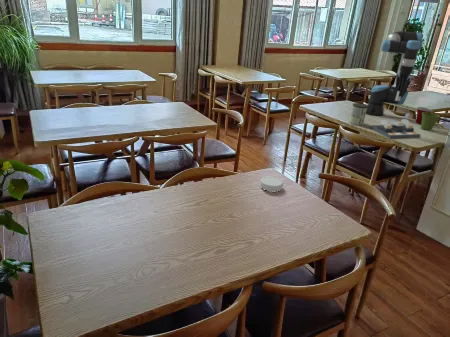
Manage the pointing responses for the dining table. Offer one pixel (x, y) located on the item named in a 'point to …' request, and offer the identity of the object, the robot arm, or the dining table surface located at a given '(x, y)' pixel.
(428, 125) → the plant pot
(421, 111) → the plastic cup
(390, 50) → the robot arm
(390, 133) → the switch panel
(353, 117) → the coffee can
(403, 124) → the switch middle
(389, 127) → the switch
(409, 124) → the switch
